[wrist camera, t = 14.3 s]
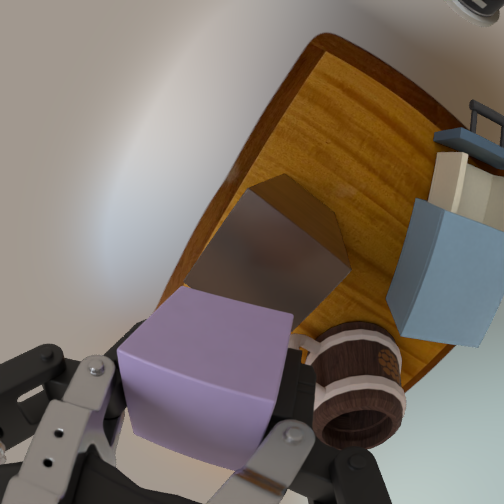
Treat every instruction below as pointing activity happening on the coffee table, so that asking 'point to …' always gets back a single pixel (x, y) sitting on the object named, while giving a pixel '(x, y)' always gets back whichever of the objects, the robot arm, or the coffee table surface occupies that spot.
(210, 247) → the stand
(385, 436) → the mug
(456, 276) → the cabinet
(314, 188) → the coffee table surface
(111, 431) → the robot arm
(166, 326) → the purple cube
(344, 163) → the coffee table surface
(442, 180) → the drawer
